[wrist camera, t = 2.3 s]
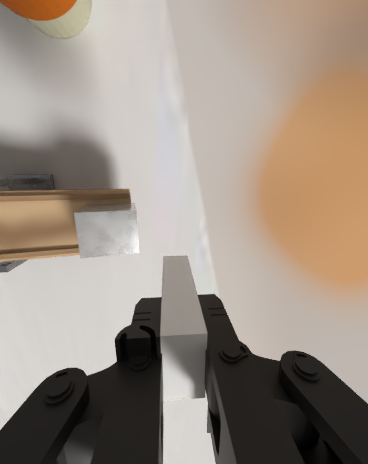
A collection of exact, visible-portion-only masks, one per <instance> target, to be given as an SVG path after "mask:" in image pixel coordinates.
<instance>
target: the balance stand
mask: <svg viewBox="0 0 368 464" xmlns="http://www.w3.org/2000/svg"><path fill="white" fill-rule="evenodd" d="M6 176H7V179H0V186H9V189H10V191H25V190H55V188H54V182H53V176H52V175H6ZM27 260H28V259H25V260H14V261H5V262H0V272H9V271H10V270H12V269H14V268H15V267H17V266H18V265H20V264H22V263H23V262H25V261H27Z"/></svg>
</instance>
